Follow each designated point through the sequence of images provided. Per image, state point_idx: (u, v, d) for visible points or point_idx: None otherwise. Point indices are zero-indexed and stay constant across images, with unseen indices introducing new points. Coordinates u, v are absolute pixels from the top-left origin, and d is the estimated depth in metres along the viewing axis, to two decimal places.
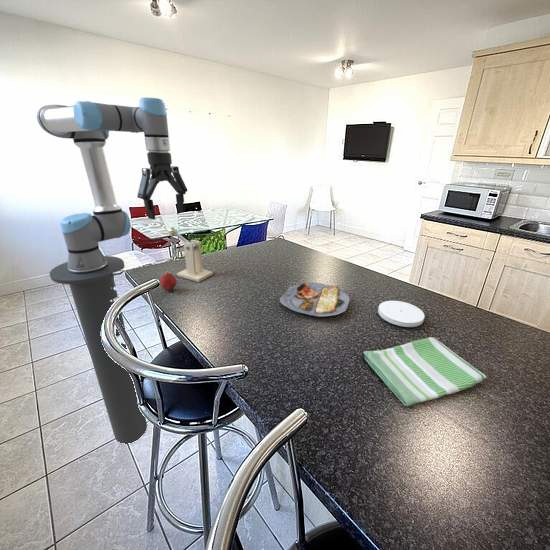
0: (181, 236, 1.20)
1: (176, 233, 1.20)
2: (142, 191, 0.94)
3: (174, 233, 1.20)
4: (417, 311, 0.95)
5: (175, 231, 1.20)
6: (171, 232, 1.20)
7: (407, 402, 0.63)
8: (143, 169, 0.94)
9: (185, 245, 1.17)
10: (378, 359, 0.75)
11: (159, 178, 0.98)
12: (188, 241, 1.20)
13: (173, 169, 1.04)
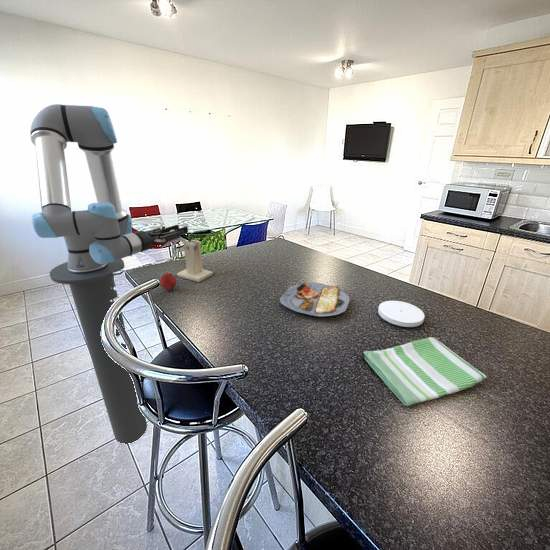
0: (181, 237, 1.21)
1: None
2: None
3: None
4: (417, 311, 0.95)
5: None
6: None
7: (407, 402, 0.63)
8: None
9: (185, 245, 1.17)
10: (378, 359, 0.75)
11: None
12: (188, 242, 1.20)
13: None
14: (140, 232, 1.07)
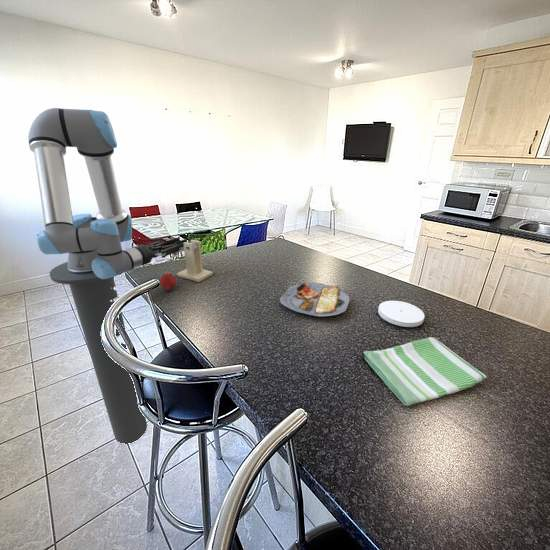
0: None
1: None
2: None
3: None
4: (417, 311, 0.95)
5: None
6: None
7: (407, 402, 0.63)
8: None
9: (185, 245, 1.17)
10: (378, 359, 0.75)
11: None
12: None
13: None
14: (141, 246, 1.09)
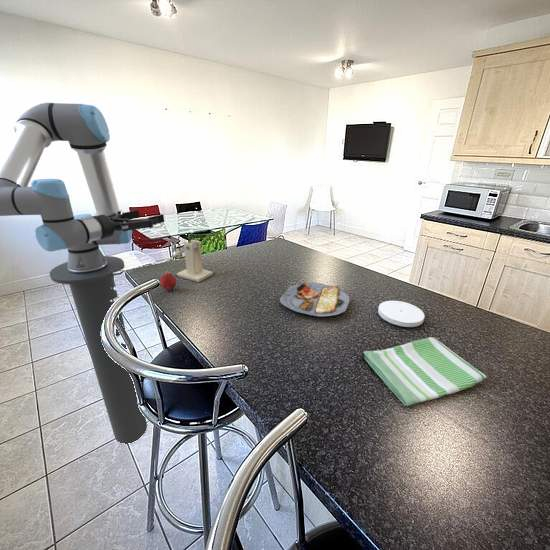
0: (182, 250, 1.23)
1: (178, 252, 1.24)
2: None
3: (177, 253, 1.24)
4: (417, 311, 0.95)
5: (177, 251, 1.24)
6: (174, 254, 1.24)
7: (407, 402, 0.63)
8: None
9: (185, 245, 1.17)
10: (378, 359, 0.75)
11: None
12: None
13: None
14: (100, 216, 0.93)
